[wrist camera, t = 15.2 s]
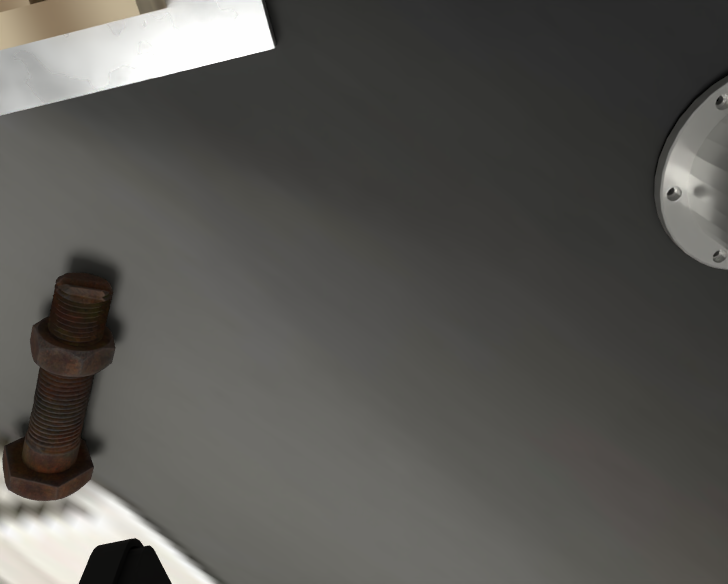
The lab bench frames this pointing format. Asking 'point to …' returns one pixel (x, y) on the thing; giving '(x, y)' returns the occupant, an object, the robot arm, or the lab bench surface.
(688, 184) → the robot arm
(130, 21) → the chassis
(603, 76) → the lab bench surface
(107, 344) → the bolt
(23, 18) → the tan rectangular block
